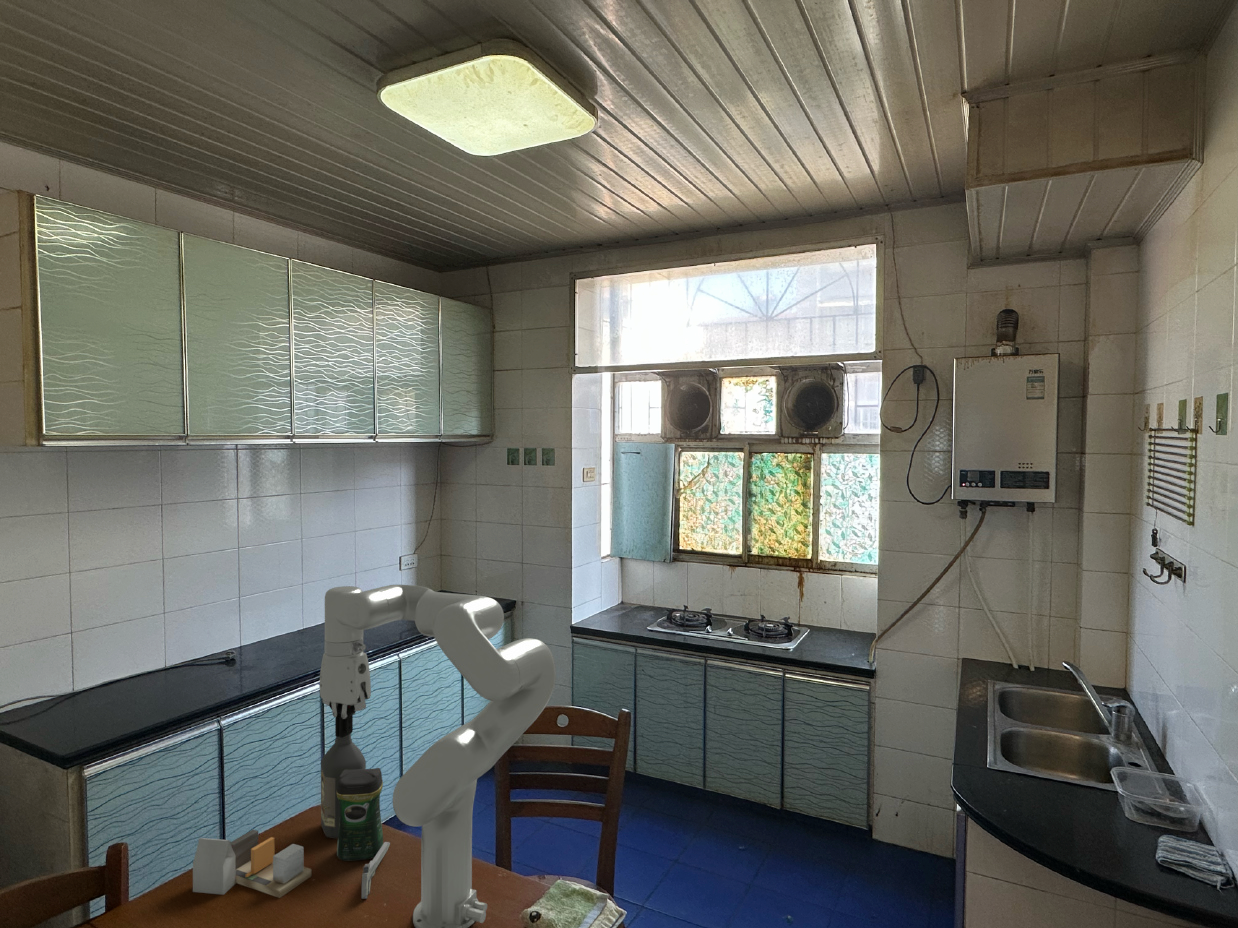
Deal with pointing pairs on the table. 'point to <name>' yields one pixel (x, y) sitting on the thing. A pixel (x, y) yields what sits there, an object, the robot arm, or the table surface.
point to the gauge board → (264, 876)
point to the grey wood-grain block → (288, 863)
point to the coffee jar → (359, 814)
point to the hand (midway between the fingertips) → (344, 734)
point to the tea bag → (214, 866)
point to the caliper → (372, 869)
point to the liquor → (336, 780)
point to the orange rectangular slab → (262, 856)
